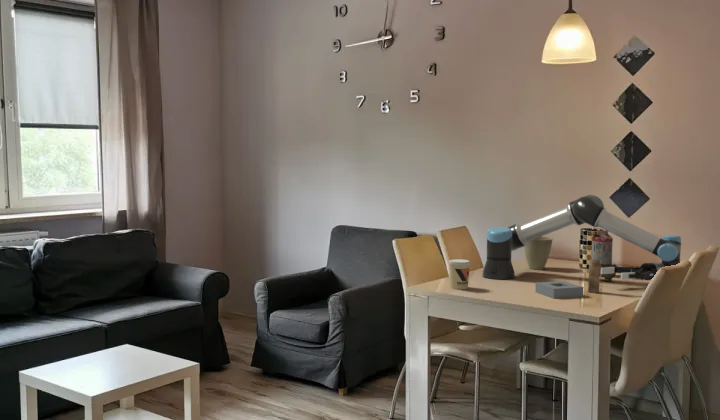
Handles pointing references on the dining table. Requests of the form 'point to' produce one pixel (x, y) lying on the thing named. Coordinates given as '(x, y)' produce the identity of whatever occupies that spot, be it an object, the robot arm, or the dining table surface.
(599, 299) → the dining table surface
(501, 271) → the robot arm
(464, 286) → the coffee cup
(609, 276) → the cup
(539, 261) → the plant pot
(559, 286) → the socket block
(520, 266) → the dining table surface
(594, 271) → the walnut peg
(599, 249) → the juice carton
